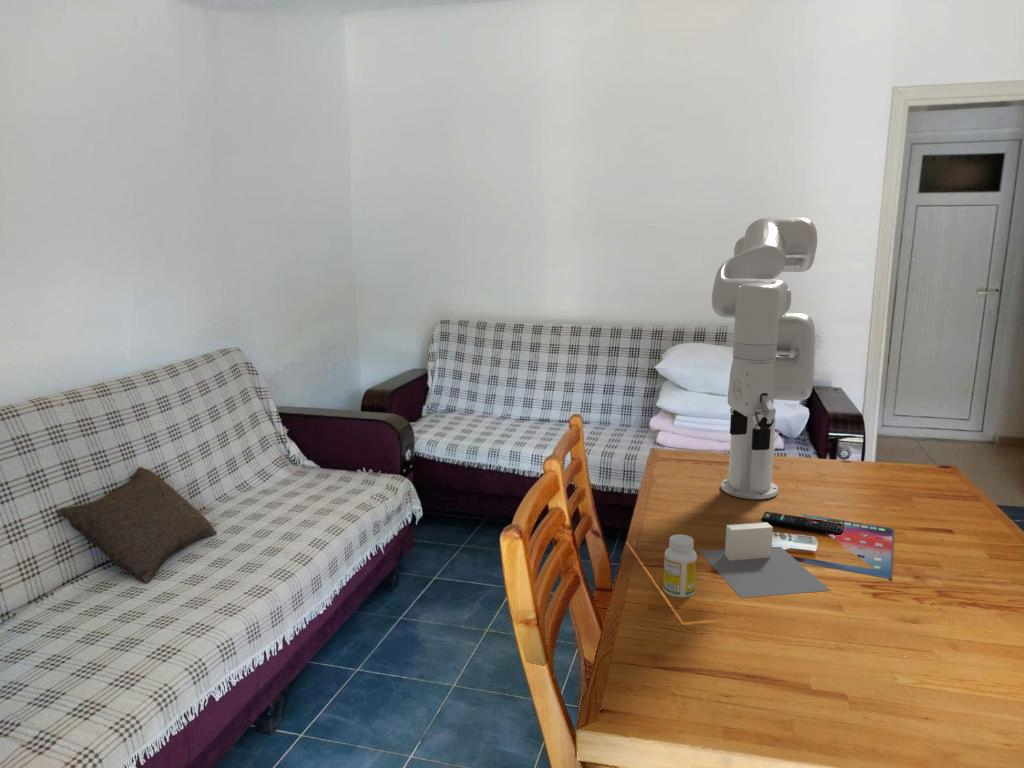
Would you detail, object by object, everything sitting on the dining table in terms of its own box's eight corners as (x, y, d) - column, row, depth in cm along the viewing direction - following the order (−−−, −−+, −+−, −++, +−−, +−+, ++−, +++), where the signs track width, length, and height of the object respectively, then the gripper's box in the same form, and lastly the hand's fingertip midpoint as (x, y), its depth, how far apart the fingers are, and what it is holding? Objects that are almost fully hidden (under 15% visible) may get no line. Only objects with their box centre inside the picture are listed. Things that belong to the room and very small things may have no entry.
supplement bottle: (666, 599, 125) (668, 546, 123) (660, 583, 130) (662, 532, 128) (698, 599, 125) (701, 545, 123) (691, 583, 130) (693, 532, 128)
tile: (724, 554, 140) (726, 524, 138) (764, 551, 141) (766, 522, 140) (729, 560, 137) (731, 530, 136) (770, 557, 139) (772, 527, 137)
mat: (699, 553, 142) (699, 551, 141) (778, 547, 144) (778, 545, 144) (740, 600, 124) (740, 597, 124) (830, 592, 126) (830, 590, 126)
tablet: (894, 531, 151) (894, 527, 151) (891, 583, 130) (892, 579, 130) (794, 515, 160) (794, 511, 160) (776, 562, 138) (776, 558, 138)
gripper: (716, 344, 144) (712, 429, 148) (755, 361, 127) (749, 457, 131) (753, 343, 145) (748, 428, 149) (797, 360, 128) (789, 455, 132)
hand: (748, 441), depth 140 cm, fingers open, 9 cm apart
